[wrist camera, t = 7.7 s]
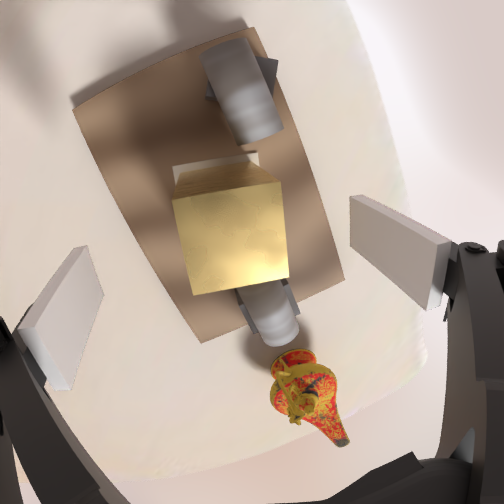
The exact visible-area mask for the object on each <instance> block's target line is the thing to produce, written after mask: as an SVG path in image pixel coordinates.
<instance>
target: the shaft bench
mask: <svg viewBox="0 0 504 504" xmlns="http://www.w3.org/2000/svg"><path fill="white" fill-rule="evenodd" d="M277 66H278V60H275V59H270V58H268V57H267V54H266V52H265V50H264V47H263V45H262V43H261V41H260V39H259V36H258V34H257V32H256V30H255V28H254V27H251V28H248V29H245V30H241V31H238V32H235V33H232V34H229V35H226V36H223V37H220V38H217V39H214V40H212V41H209V42H206V43H204V44H201V45H198V46H196V47H193V48H191V49H188V50H186V51H183V52H181V53H179V54H176V55H174V56H172V57H169V58H167V59H165V60H163V61H160V62H158V63H156V64H154V65H152V66H150V67H148V68H145V69H143V70H141V71H139V72H137V73H135V74H133V75H132V76H130V77H128V78H126V79H124V80H122V81H120V82H118V83H116V84H115V85H113V86H111V87H109V88H107V89H106V90H104V91H102V92H101V93H99V94H97V95H95V96H94V97H92V98H90V99H89V100H87V101H86V102H84V103H82V104H81V105H79V106H78V107H76V108H75V109H73V110H72V111H73V113H74V116H75V118H76V120H77V123H78V125H79V127H80V129H81V132H82V134H83V136H84V138H85V140H86V143H87V145H88V147H89V149H90V151H91V153H92V155H93V158H94V160H95V162H96V164H97V166H98V168H99V170H100V172H101V174H102V176H103V178H104V180H105V182H106V184H107V186H108V188H109V190H110V192H111V194H112V196H113V198H114V200H115V201H116V203H117V205H118V207H119V209H120V211H121V213H122V215H123V217H124V218H125V220H126V222H127V224H128V226H129V228H130V229H131V231H132V233H133V235H134V237H135V238H136V240H137V242H138V244H139V245H140V247H141V249H142V251H143V252H144V254H145V256H146V257H147V259H148V261H149V263H150V264H151V266H152V268H153V269H154V271H155V273H156V274H157V276H158V278H159V279H160V281H161V283H162V284H163V286H164V287H165V289H166V291H167V292H168V294H169V296H170V297H171V299H172V300H173V302H174V303H175V305H176V307H177V308H178V310H179V311H180V313H181V314H182V316H183V317H184V319H185V321H186V322H187V324H188V325H189V327H190V328H191V330H192V331H193V333H194V334H195V336H196V337H197V339H198V340H199V341H200V343H204V342H206V341H209V340H211V339H214V338H216V337H219V336H221V335H224V334H226V333H228V332H231V331H233V330H236V329H238V328H240V327H243V326H245V325H247V324H249V326H250V328H251V330H252V332H253V334H255V333H258V332H259V333H260V335H261V337H262V339H263V341H264V342H265V343H266V344H267V345H269V346H282V345H285V344H287V343H289V342H291V341H292V340H293V339H294V338H295V337H296V336H297V334H298V332H299V324H298V322H297V319H296V317H295V316H296V315H298V314H300V311H299V308H298V305H297V302H300V301H302V300H304V299H306V298H308V297H310V296H313V295H315V294H317V293H319V292H321V291H323V290H325V289H327V288H329V287H332V286H334V285H336V284H338V283H340V282H342V281H344V280H345V278H344V274H343V271H342V267H341V263H340V260H339V256H338V253H337V249H336V246H335V242H334V239H333V236H332V232H331V229H330V226H329V222H328V219H327V216H326V213H325V209H324V206H323V203H322V200H321V197H320V194H319V191H318V188H317V185H316V182H315V179H314V176H313V173H312V170H311V167H310V164H309V161H308V158H307V156H306V153H305V150H304V147H303V144H302V142H301V139H300V136H299V133H298V131H297V128H296V125H295V123H294V120H293V118H292V115H291V112H290V110H289V107H288V105H287V102H286V100H285V97H284V95H283V92H282V90H281V87H280V85H279V82H278V80H277V78H276V73H277ZM247 161H252V162H253V163H255V164H256V165H258V166H259V167H261V168H262V169H263V170H265V171H266V172H268V173H269V174H271V175H272V176H273V177H275V178H276V179H278V180H279V181H280V182H281V190H282V200H283V210H284V221H285V233H286V244H287V256H288V269H289V277H287V278H282V279H277V280H272V281H267V282H262V283H257V284H252V285H247V286H242V287H237V288H231V289H226V290H221V291H216V292H210V293H205V294H199V295H194V296H193V293H192V289H191V285H190V280H189V276H188V272H187V268H186V264H185V260H184V255H183V251H182V246H181V242H180V237H179V233H178V228H177V224H176V219H175V214H174V209H173V204H172V197H173V194H174V191H175V187H176V184H177V181H178V177H179V174H180V173H182V172H187V171H193V170H198V169H204V168H209V167H215V166H221V165H227V164H234V163H240V162H247Z"/></svg>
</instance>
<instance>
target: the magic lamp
mask: <svg viewBox="0 0 504 504" xmlns="http://www.w3.org/2000/svg"><path fill="white" fill-rule="evenodd" d="M271 374H272V377H273V378H274V379H275V382H274V383H273V385H272V387H271V391H270V401H271V404H272V405H273V407H274V408H275V409H276V410H277V411H279V412H280V413H283V414H285V415H288V417H290V420H289V421H290V423H296V424H297V425H301V421H300V420H301V419H303V420H305V421H307V422H309V423H311V424H313V425H314V426H316V427H317V428H318V429H319V430H321V431H322V432H323V433H324V434H325V435H326V436H327V437H328V438H329V439H330V440H331V441H332V442H333V443H334V444H335V445H336V446H338V447H344V446H346V445H348V444H349V442H350V440H349V438H348V436H347V434H346V432H345V430H344V427H343V425H342V422H341V420H340V417H339V414H338V410H337V405H336V391H337V380H336V377H335V375H334V373H333V372H332V371H331V370H330V369H329V368H327V367H325V366H323V365H320V364H316V357H315V355H314V354H313V353H312V352H311V351H309V350H305V349H295V350H291V351H288V352H286V353H284V354H282V355H281V356H279V357H278V358H277V359H276V360H275V361H274V363H273V364H272V367H271Z"/></svg>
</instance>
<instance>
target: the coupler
mask: <svg viewBox="0 0 504 504" xmlns="http://www.w3.org/2000/svg"><path fill="white" fill-rule="evenodd" d="M172 204H173V209H174V214H175V219H176V224H177V228H178V233H179V237H180V242H181V246H182V251H183V255H184V260H185V264H186V268H187V272H188V276H189V280H190V285H191V289H192V293H193V296H194V295H199V294H205V293H210V292H216V291H221V290H226V289H231V288H237V287H242V286H247V285H252V284H257V283H262V282H267V281H272V280H277V279H282V278H287V277H289V269H288V256H287V244H286V233H285V221H284V210H283V200H282V190H281V182H280V181H279V180H278V179H276V178H275V177H273V176H272V175H271V174H269V173H268V172H266V171H265V170H263V169H262V168H261V167H259V166H258V165H256V164H255V163H253V162H252V161H247V162H240V163H234V164H227V165H221V166H215V167H209V168H204V169H198V170H193V171H187V172H182V173H180V174H179V177H178V181H177V184H176V187H175V191H174V194H173V197H172Z"/></svg>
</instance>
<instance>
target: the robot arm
mask: <svg viewBox="0 0 504 504" xmlns="http://www.w3.org/2000/svg"><path fill="white" fill-rule="evenodd" d="M350 246H351V247H352V248H353V249H354V250H355V251H357V252H358V253H359V254H360V255H361V256H363V257H364V258H365V259H366V260H368V261H369V262H370V263H371V264H372V265H373V266H375V267H376V268H377V269H378V270H379V271H381V272H382V273H383V274H384V275H385V276H386V277H388V278H389V279H390V280H391V281H392V282H393V283H395V284H396V285H397V286H398V287H399V288H400V289H402V290H403V291H404V292H405V293H406V294H407V295H408V296H409V297H411V298H412V299H413V300H414V301H415V302H416V303H417V304H418V305H420V306H421V307H422V308H423V309H424V310H425V311H428V310H431V309H433V308H436V307H438V306H440V304H441V299H442V294H443V292H444V293H445V294H446V295H448V296H449V299H448V303H447V308H446V312H445V316H444V319H443V321H446V319H447V321H448V356H447V357H448V358H447V381H446V394H445V405H444V415H443V423H442V431H441V437H440V444H439V448H438V451H437V454H436V456H435V458H430V459H424V460H417V458H416V456H415V455H414V453H413V452H410V453H408V454H406V455H404V456H402V457H400V458H398V459H396V460H394V461H392V462H389V463H387V464H385V465H383V466H380V467H379V468H376V469H374V470H371V471H370V472H368V473H367V474H365V475H364V476H363V477H361V478H360V479H358V480H357V481H355V482H354V483H352V484H351V485H349V486H348V487H346V488H345V489H343V490H342V491H340V492H339V493H337V494H335V495H334V496H332V497H330V498H328V499H326V500H322V501H312V502H299V503H279V504H504V240H502V241H500V242H499V243H498V249H497V252H495V253H494V252H493V253H489V251H488V250H487V249H486V248H485V247H484V246H482V245H480V244H477V243H474V242H464V243H461V244H459V245H458V244H456V243H454V242H452V241H451V240H449V239H448V238H446V237H444V236H442V235H440V234H439V233H437V232H435V231H433V230H431V229H430V228H427V227H426V226H424V225H422V224H420V223H418V222H416V221H414V220H413V219H411V218H409V217H407V216H405V215H403V214H401V213H399V212H397V211H395V210H393V209H391V208H389V207H387V206H385V205H383V204H381V203H379V202H377V201H375V200H373V199H371V198H368V197H366V196H364V195H356V196H350ZM103 296H104V293H103V290H102V288H101V285H100V282H99V279H98V276H97V274H96V271H95V268H94V265H93V262H92V259H91V256H90V253H89V249H88V246H87V245H86V246H82V247H78V248H74V249H73V250H72V251H71V253H70V254H69V255H68V257H67V258H66V259H65V260H64V262H63V263H62V264H61V266H60V267H59V268H58V270H57V271H56V272H55V274H54V275H53V277H52V278H51V279H50V281H49V282H48V284H47V285H46V286H45V288H44V289H43V291H42V292H41V294H40V295H39V296H38V298H37V299H36V301H35V302H34V303H33V304H32V305H31V306H30V307H29V308H28V309H27V311H26V312H25V314H24V316H23V317H22V318H21V320H20V322H19V323H18V325H17V326H16V328H15V329H14V331H13V333H12V334H11V333H10V331H9V329H8V327H7V325H6V323H5V322H4V320H3V318H2V317H1V316H0V504H23V500H22V496H21V492H20V487H19V482H18V477H17V472H16V467H15V461H14V454H13V447H12V444H13V446H14V449H15V451H16V453H17V456H18V458H19V460H20V463H21V465H22V467H23V469H24V471H25V473H26V475H27V477H28V480H29V482H30V483H31V485H32V487H33V489H34V491H35V493H36V495H37V497H38V499H39V500H40V502H41V504H130V503H129V502H128V501H127V499H126V498H125V497H124V496H123V495H122V494H121V493H120V492H119V491H118V490H117V488H116V487H115V486H114V485H113V484H112V483H111V482H110V480H109V479H108V478H107V477H106V476H105V474H104V473H103V472H102V471H101V470H100V468H99V467H98V466H97V465H96V463H95V462H94V461H93V459H92V458H91V457H90V455H89V454H88V453H87V451H86V450H85V449H84V447H83V446H82V445H81V443H80V442H79V441H78V439H77V438H76V436H75V435H74V433H73V432H72V430H71V429H70V427H69V426H68V424H67V423H66V421H65V420H64V418H63V417H62V415H61V414H60V412H59V410H58V409H57V407H56V406H55V404H54V402H53V401H52V399H51V397H50V396H49V394H48V392H47V391H46V390H45V388H44V385H45V382H46V380H48V382H49V383H50V385H51V386H52V388H53V389H54V391H63V390H72V387H73V383H74V380H75V376H76V373H77V370H78V367H79V364H80V360H81V357H82V354H83V351H84V348H85V345H86V342H87V339H88V337H89V334H90V331H91V328H92V325H93V323H94V320H95V317H96V315H97V312H98V309H99V307H100V304H101V301H102V299H103Z"/></svg>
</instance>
